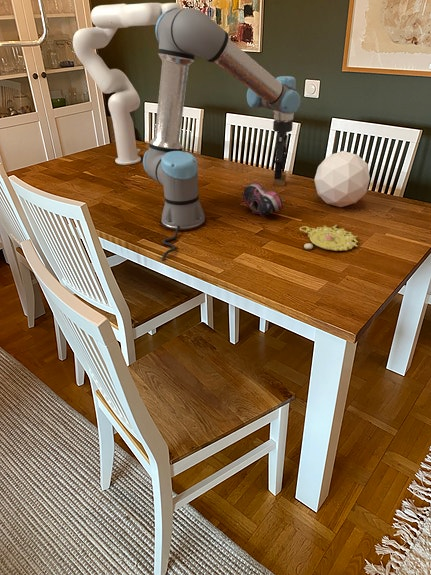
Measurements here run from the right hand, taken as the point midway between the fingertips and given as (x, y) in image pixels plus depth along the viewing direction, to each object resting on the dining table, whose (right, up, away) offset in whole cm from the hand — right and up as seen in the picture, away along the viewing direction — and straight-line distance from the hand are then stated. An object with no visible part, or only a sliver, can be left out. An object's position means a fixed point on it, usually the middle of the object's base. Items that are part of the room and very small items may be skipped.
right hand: (279, 173), depth 184 cm
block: (+1, -4, +3) cm, 4 cm away
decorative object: (+9, -32, -42) cm, 54 cm away
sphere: (+20, -16, -18) cm, 31 cm away
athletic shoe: (-11, -19, -21) cm, 31 cm away
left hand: (-44, +40, +7) cm, 60 cm away
